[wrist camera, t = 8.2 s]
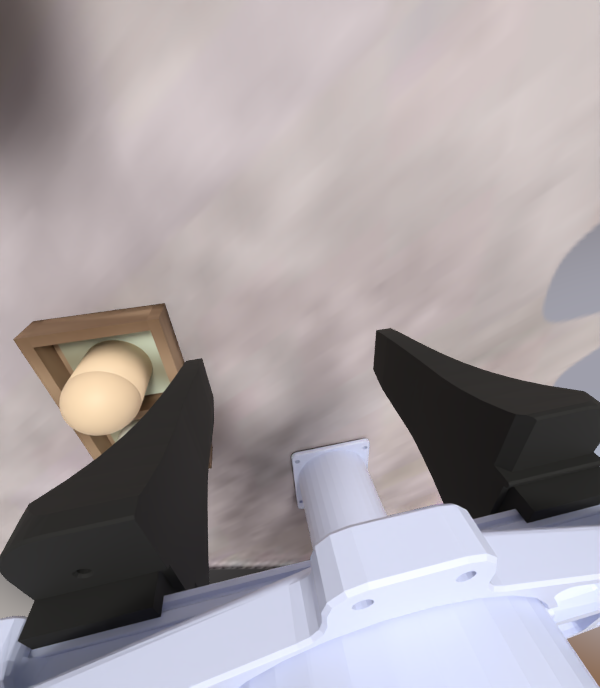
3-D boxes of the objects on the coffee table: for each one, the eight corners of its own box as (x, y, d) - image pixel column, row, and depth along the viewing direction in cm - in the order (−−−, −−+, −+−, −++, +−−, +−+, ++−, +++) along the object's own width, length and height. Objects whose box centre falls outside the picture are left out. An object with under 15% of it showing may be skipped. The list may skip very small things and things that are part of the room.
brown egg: (160, 384, 23) (143, 443, 19) (99, 394, 23) (67, 457, 18) (140, 335, 21) (116, 389, 16) (73, 345, 20) (27, 404, 16)
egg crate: (212, 447, 29) (211, 467, 27) (120, 465, 28) (112, 488, 26) (164, 303, 21) (158, 318, 19) (32, 321, 20) (13, 339, 18)
